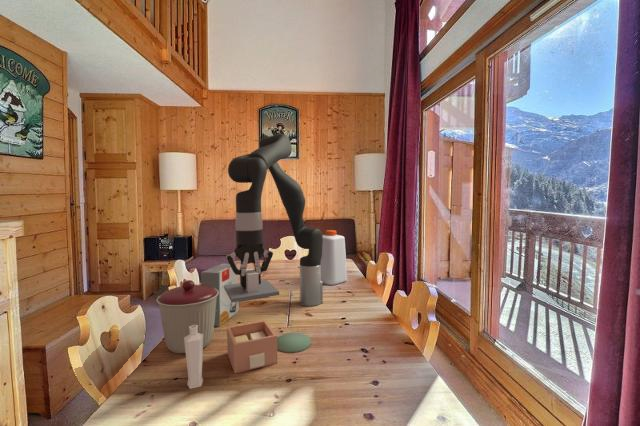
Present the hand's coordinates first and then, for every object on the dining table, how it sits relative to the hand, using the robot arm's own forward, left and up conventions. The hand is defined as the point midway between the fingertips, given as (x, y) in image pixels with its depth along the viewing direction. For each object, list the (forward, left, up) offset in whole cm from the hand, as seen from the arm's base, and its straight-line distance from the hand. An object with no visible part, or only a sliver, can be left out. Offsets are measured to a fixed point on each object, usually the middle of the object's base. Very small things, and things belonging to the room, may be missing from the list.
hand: (250, 286), depth 89 cm
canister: (+16, -16, -22) cm, 31 cm away
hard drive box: (+4, -34, -22) cm, 41 cm away
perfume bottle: (+16, +6, -22) cm, 28 cm away
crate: (0, 0, -21) cm, 21 cm away
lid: (0, 0, -1) cm, 1 cm away
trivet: (-14, -3, -21) cm, 26 cm away
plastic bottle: (-58, -60, -22) cm, 86 cm away
